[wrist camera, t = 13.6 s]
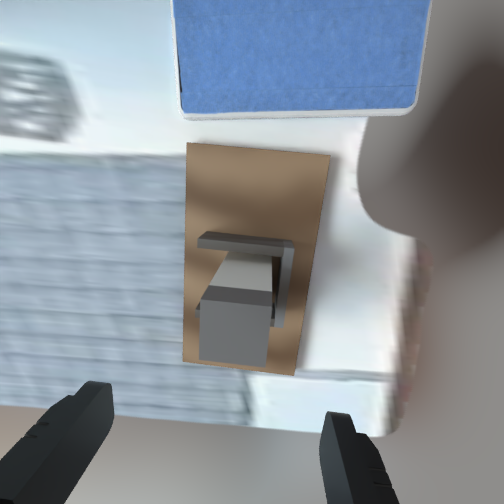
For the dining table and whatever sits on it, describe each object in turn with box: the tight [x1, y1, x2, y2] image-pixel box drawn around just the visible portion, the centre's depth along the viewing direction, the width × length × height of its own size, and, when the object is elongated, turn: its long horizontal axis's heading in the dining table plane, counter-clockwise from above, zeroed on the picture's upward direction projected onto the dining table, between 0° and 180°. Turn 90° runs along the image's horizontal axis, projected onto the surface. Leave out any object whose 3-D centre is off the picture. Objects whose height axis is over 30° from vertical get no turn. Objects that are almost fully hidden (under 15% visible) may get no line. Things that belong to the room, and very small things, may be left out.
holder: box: [183, 143, 331, 376], centre depth 23 cm, size 22×12×4 cm, turn 175°
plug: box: [199, 251, 272, 368], centre depth 19 cm, size 4×4×10 cm
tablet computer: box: [170, 0, 433, 120], centre depth 20 cm, size 19×13×1 cm, turn 90°
